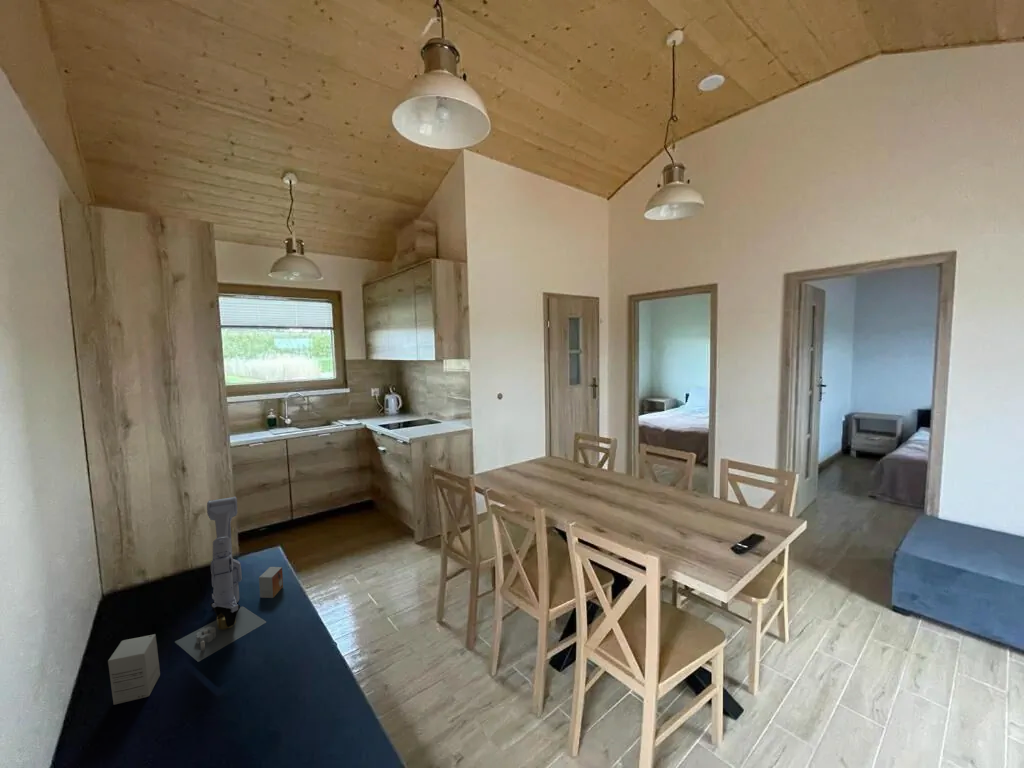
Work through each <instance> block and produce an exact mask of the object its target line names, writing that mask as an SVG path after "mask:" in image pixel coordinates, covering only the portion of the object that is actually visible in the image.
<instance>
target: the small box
mask: <svg viewBox="0 0 1024 768" xmlns="http://www.w3.org/2000/svg"><path fill="white" fill-rule="evenodd" d="M283 575H284V574H283V566H280V567H279V566H269V567H268V568H267V569H266V570H265V571H264V572H263V573H262V574H260V576H258V583H259V585H258V586H259V597H260V599H261V598H262V599H267V598H268V599H273V598H275V596H276V595H277V594H279V592H280V591H281V590H282V589H283V588H284V579H283V578H284V576H283Z"/></svg>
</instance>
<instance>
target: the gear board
mask: <svg viewBox="0 0 1024 768" xmlns="http://www.w3.org/2000/svg"><path fill="white" fill-rule="evenodd" d="M266 623H267V621H266V620H264V619H263V618H262V617H260V616H259V615H257V614H255V613H253V612H252V611H251V610H249V608H246V607H244V606H243V605H242V606H240V609H239V610H238V612H237V615H236V623H235V625H233V626H232V627H230V628H229V629H228V628H227V629H226V630H221V629H218V628H217V619H215V620H214V621H211V622H210V623H208V624H206V625H204V626H203V627H200V628H198V629H197V630H195V631H193V632H191V633H188V634H186V635H185V636H182V637H181V638H180V639H177V640H175V641H174V643H175V644H176V645H177V646H179V647H180V648H181V649H182V650H183V651H184V652H186V653H187V654H188V655H189V656H190V657H192V658H193V659H194V660H195V661H197V663H199V662H201V661H202V660H204V659H206V658H207V657H210V656H211V655H213V654H214V653H216V652H218V651H220V650H221V649H223V648H225V647H226V646H229V645H230V644H232V643H234V642H235V641H237V640H238V639H240V638H242V637H243V636H246V635H247V634H249V633H251V632H253V631H254V630H256V629H258V628H259V627H261V626H263V625H265V624H266Z"/></svg>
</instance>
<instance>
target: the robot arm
mask: <svg viewBox="0 0 1024 768" xmlns="http://www.w3.org/2000/svg"><path fill="white" fill-rule="evenodd" d="M206 513H207V517H208V519H209V520H210V521H214V524H215V532H216V537H215V539H214V540H213V542H212V560H211V562H210V572H211V573H210V574H211V586H212V588H213V590H212V591H213V593H211V598H212V600H213V602H211V603H210V607H211V608H212V609H213V611H214V612H215V613H214V614H215V615H216V617H217V616H218V614H220V613H222V614H223V616H224V617H225V620H226V624H227V627H230V626H232V625H234V623H235V619H236V615H237V612H238V610H239V609H240V607H241V606H240V605H239V604H237V603H239V601H240V590H239V583H240V582H241V581H242V579H243V577H242V575H243V573H242V565H241V562H240V560H237V559H234V558H233V548H232V547H233V545H232V527H231V525H232V524H231V523H232V520H233V518H234V517H236V516H238V498H237V496H235V495H234V496H232V497H226V498H224V497H223V498H219V499H214V500H213V499H212V500H211V499H209V500H208V501H207V502H206Z"/></svg>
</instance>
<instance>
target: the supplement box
mask: <svg viewBox="0 0 1024 768" xmlns="http://www.w3.org/2000/svg"><path fill="white" fill-rule="evenodd" d="M158 652H159V651H158V643H157V636H156V633H154V634H150V635H143V636H140V637H134V638H129V639H128V638H127V639H123V640H121V641H120V643H119V644H118V646H117V647H116V649H115V650H114V652H113V653H112V654H111V656H110V657H109V659H108V660H107V665H108V671H109V672H108V673H109V679H110V688H111V696H112V701H113V702H112V703H113V705H118V704H123V703H126V702H131V701H132V702H133V701H135V700H136V701H137V700H140V699H143V698H147V697H150V695H151V694H152V691H153V690H154V687H155V685H156V684H157V682H158V680H159V678H160V676H161V671H160V670H161V669H160V662H159V653H158Z"/></svg>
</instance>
